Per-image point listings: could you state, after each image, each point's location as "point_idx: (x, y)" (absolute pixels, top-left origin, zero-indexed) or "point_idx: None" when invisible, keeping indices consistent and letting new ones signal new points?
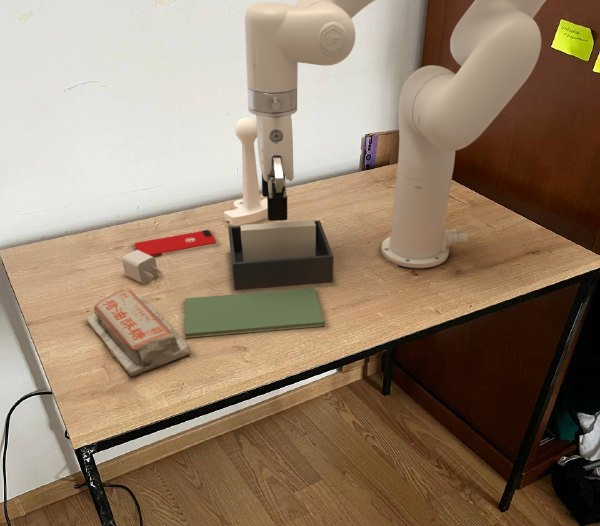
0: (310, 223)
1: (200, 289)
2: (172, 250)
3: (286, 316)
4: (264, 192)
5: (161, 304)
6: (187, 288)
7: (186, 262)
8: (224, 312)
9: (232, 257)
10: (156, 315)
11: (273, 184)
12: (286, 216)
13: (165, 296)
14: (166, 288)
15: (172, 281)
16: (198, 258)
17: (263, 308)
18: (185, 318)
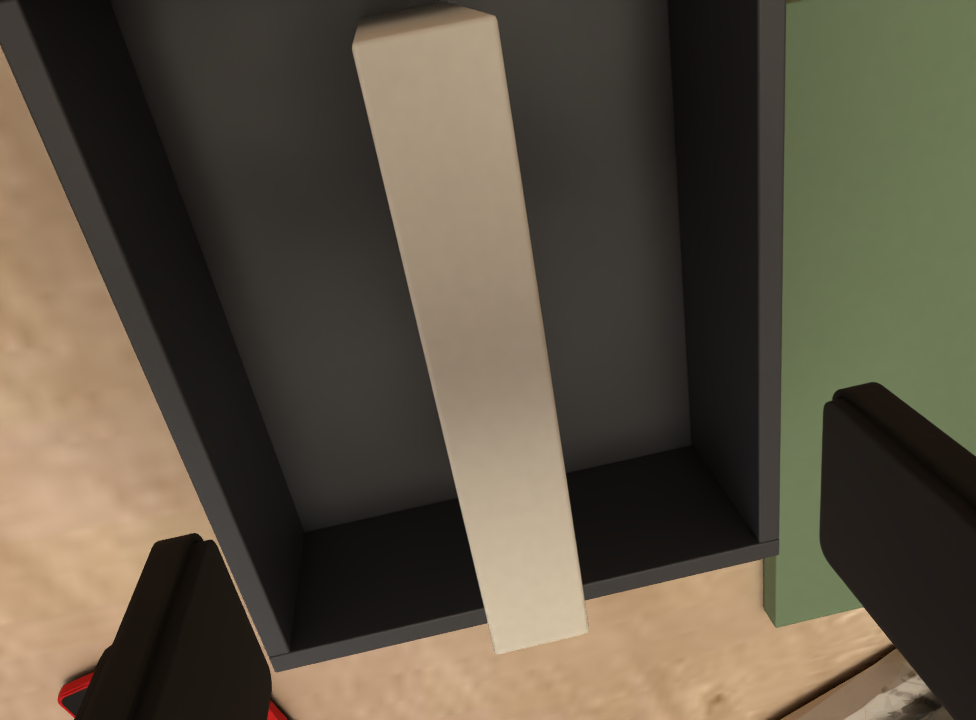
0: (454, 82)
1: (656, 586)
2: None
3: None
4: (260, 708)
5: (755, 680)
6: (643, 632)
7: (408, 691)
8: None
9: (698, 569)
10: (907, 685)
11: (211, 713)
12: (887, 401)
13: (698, 684)
14: (636, 697)
15: (580, 694)
16: (363, 658)
17: (938, 298)
18: None
